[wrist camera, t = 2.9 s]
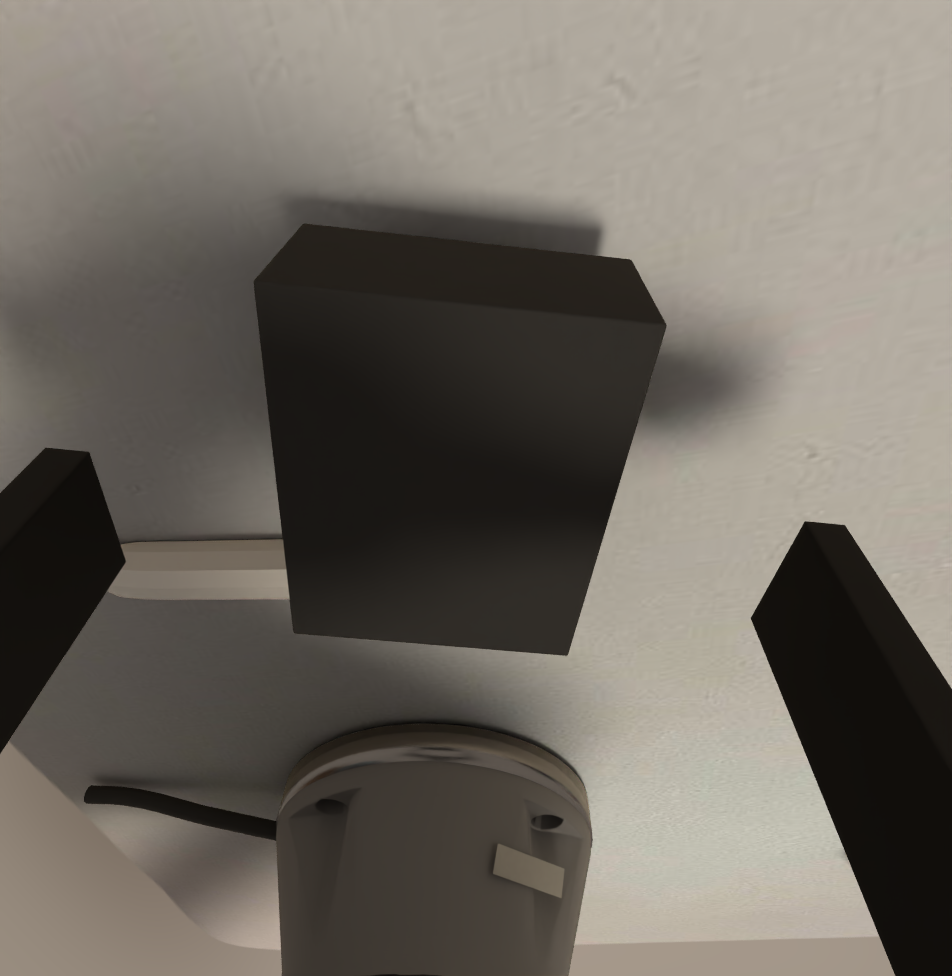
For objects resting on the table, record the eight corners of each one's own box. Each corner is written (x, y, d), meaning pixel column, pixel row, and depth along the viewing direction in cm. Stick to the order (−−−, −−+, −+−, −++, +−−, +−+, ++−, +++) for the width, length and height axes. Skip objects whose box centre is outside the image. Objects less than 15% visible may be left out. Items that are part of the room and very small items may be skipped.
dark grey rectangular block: (551, 518, 21) (568, 656, 16) (335, 498, 20) (293, 634, 16) (617, 232, 15) (667, 324, 11) (322, 199, 15) (252, 280, 10)
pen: (498, 565, 22) (499, 601, 21) (104, 570, 22) (80, 606, 21) (498, 531, 21) (498, 567, 20) (86, 537, 22) (59, 572, 20)
